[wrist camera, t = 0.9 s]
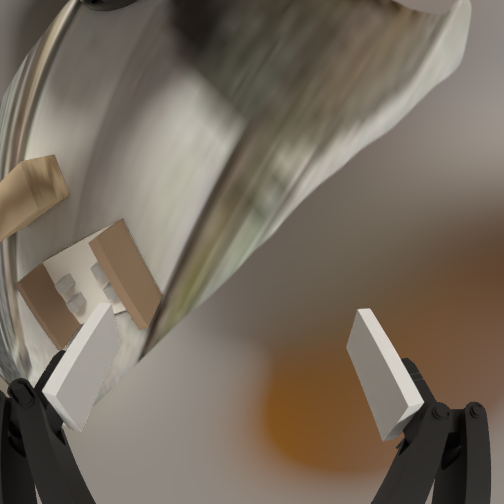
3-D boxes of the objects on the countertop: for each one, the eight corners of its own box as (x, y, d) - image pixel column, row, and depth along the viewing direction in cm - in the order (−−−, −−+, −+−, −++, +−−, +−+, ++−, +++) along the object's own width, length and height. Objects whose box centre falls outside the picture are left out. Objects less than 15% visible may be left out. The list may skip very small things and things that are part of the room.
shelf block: (13, 190, 33) (-18, 202, 26) (54, 154, 32) (20, 161, 24) (27, 225, 36) (-2, 242, 28) (69, 194, 34) (38, 209, 27)
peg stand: (41, 263, 38) (15, 284, 31) (122, 218, 36) (96, 238, 29) (77, 323, 43) (58, 349, 36) (162, 295, 41) (148, 327, 33)
